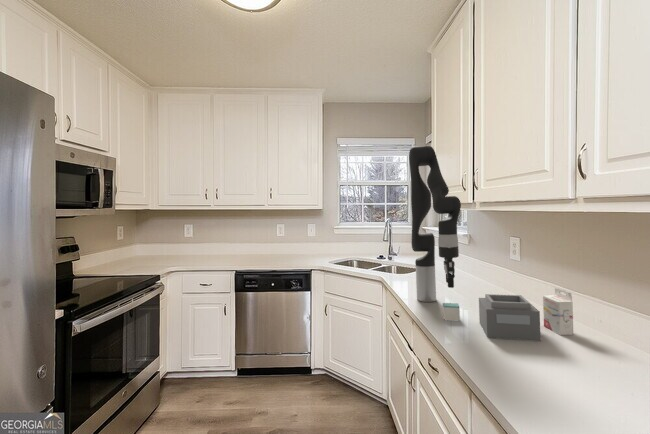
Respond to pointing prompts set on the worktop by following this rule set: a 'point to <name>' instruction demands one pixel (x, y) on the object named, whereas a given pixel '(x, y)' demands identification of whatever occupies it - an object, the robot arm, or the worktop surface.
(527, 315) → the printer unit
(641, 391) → the worktop surface
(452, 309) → the block
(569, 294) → the ink cartridge box
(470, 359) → the worktop surface
